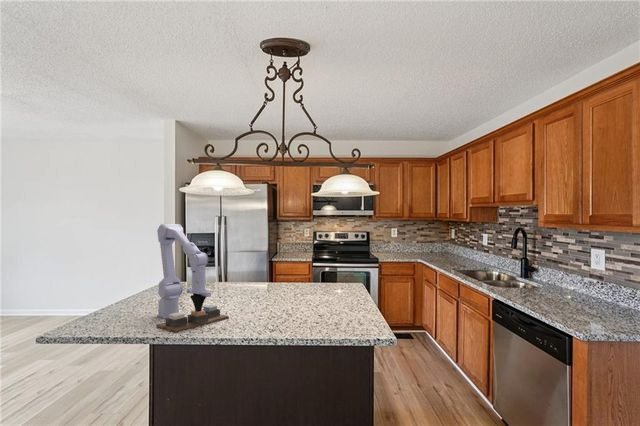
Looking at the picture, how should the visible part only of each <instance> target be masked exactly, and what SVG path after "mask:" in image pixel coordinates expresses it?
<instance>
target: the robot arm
mask: <svg viewBox="0 0 640 426" xmlns="http://www.w3.org/2000/svg"><path fill="white" fill-rule="evenodd" d="M157 238H158V240H157V241H158V242H159V248H160V253H161V254H160V255H161V263H162V264H161V266H162V272H163V278H162V279H161V280H160V281H159V283H158V290H157V291H158V292H157V293H158V295H159V297H160V299H159V300H158V306H157V307H158V312H157V313H158V314H157V315H156V317H158V318H160V319H161V318H162V319H165V320H166V318H168V317H169V314H173V313H177V312H179V310H180V309H179V307H180V306H179V305H180V297H181V295H182V294H183V291H184V287H183V285H182V283H181V279H180V278H179V277H178V276H176V268H175V259H174V250H173V244H174V242H176V241H177V242H178V244H180V245H181V246H182V251H183V252H184V254H185V255H186V256H187V258H188V263H189V265H190V270H191V287H189V288H186V294H192V295H190V296H189V297H190V299H191V301H192V303H193V306H194V310H195V311H197V312H198V311H201V310H203V307H204V306H203V305H204V302H205V301H206V299H207V298H209V297H212V294H211V293H212V292H211V291H208V290H207V289H206V266H207V265H208V264H209V256H208V255H207V253H206V252H202V251H201V250H200V249H199V248H198V246H197V245H196V244H195V243H194V242H190V240H189V239H188V238H187V236H186V234H185V232H184V227H182V224H180V223H176V224H175V223H172V224H171V223H170V224H168V223H167V224H164V223H161V224H160V225H159V226H158V228H157ZM179 313H180V312H179Z"/></svg>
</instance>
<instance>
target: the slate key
mask: <svg viewBox="0 0 640 426" xmlns="http://www.w3.org/2000/svg"><path fill="white" fill-rule="evenodd" d="M203 309H204V310H205V311H214V310H217V309H218V305H213V304H208V305H204V306H203Z"/></svg>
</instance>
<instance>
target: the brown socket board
mask: <svg viewBox="0 0 640 426" xmlns="http://www.w3.org/2000/svg"><path fill="white" fill-rule="evenodd" d="M202 310H204V308H202ZM229 317H230V316H228V315H225V314H221V309H219V308H217V310H214V311H206V315H202V316H198V317H197V316H193V315H191V313H189V314H188V315H187V316H184V318H181V319H176V320H173V319H169V317H168V318H166V319H165V322H161V323H157V324H155V326H156V328H158V329H162V330H165V331H168V332H171V333H175V334H176V333H179V332H185V331H187V330H191V329H195V328H198V327H202V326H206V325H209V324H213V323H216V322H217V323H218V322H220V321H224V320H227V319H230V318H229Z"/></svg>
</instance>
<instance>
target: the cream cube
mask: <svg viewBox="0 0 640 426" xmlns="http://www.w3.org/2000/svg"><path fill="white" fill-rule="evenodd" d="M184 317H185V314H184V313H182V312H177V313H173V314H169V319H173V320H176V319H181V318H184Z"/></svg>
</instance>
